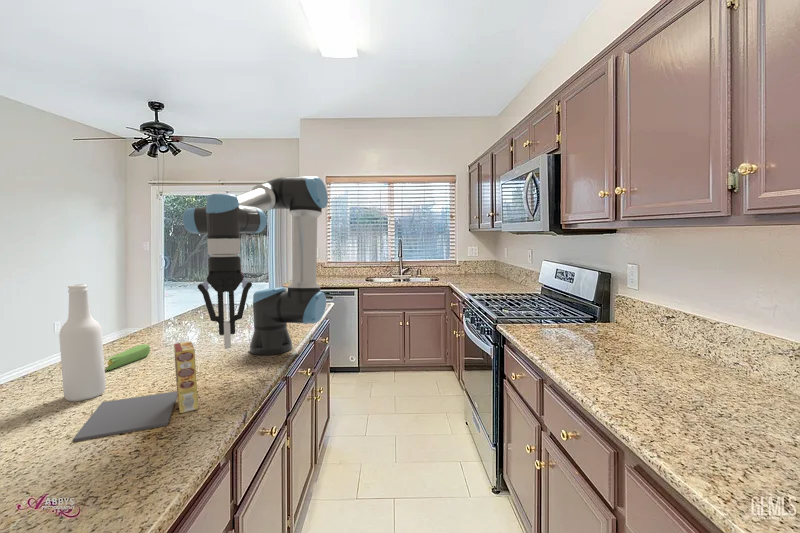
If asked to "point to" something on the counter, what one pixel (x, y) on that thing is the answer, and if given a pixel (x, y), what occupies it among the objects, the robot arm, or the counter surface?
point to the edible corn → (128, 356)
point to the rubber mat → (129, 415)
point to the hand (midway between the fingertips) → (227, 346)
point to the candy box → (186, 376)
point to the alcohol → (81, 349)
